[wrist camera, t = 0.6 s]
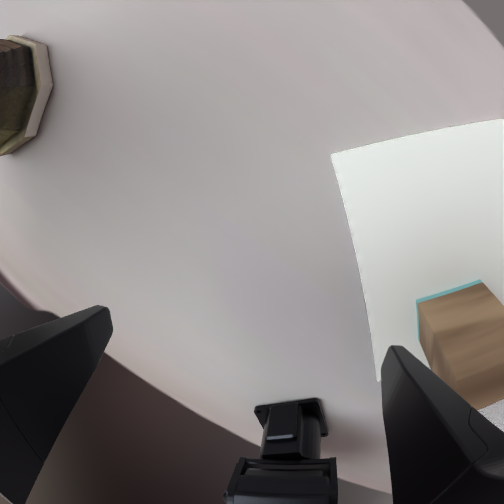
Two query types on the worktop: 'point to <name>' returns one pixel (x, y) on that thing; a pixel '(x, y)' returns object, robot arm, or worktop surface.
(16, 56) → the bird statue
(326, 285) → the worktop surface
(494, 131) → the white mat
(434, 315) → the wooden block
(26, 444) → the robot arm
